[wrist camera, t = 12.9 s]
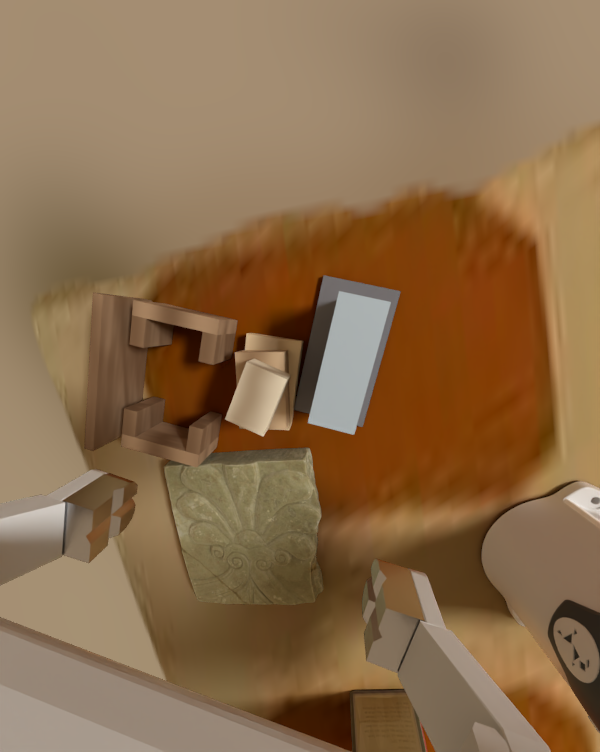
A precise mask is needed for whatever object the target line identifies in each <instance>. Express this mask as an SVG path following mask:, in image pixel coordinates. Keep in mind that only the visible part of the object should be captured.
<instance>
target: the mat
mask: <svg viewBox="0 0 600 752" xmlns="http://www.w3.org/2000/svg"><path fill="white" fill-rule="evenodd" d="M339 291H341V292H346V293H351V294H355V295H360V296H365V297H370V298H374V299H379V300H384V301H388V302H391V304H390V308H389V311H388V315H387V318H386V322H385V326H384V329H383V333H382V336H381V340H380V344H379V347H378V351H377V354H376V358H375V362H374V365H373V369H372V372H371V376H370V380H369V383H368V387H367V390H366V394H365V398H364V401H363V405H362V408H361V412H360V416H359V419H358V423H357V426H361V427H363V423H364V420H365V416H366V413H367V409H368V406H369V402H370V399H371V395H372V391H373V388H374V384H375V381H376V377H377V374H378V370H379V367H380V363H381V359H382V356H383V352H384V349H385V345H386V342H387V338H388V335H389V331H390V327H391V324H392V320H393V317H394V313H395V310H396V306H397V303H398V299H399V295H400V292H401V291H397V290H392V289H387V288H382V287H377V286H372V285H367V284H363V283H358V282H353V281H348V280H343V279H338V278H334V277H329V276H323V281H322V285H321V290H320V294H319V299H318V303H317V308H316V312H315V317H314V321H313V326H312V330H311V335H310V339H309V344H308V348H307V353H306V357H305V362H304V366H303V371H302V375H301V380H300V384H299V389H298V393H297V398H296V402H295V407H294V410H297V411H301V412H305V413H309V414H310V411H311V407H312V403H313V399H314V394H315V390H316V386H317V382H318V378H319V373H320V369H321V365H322V361H323V357H324V352H325V348H326V344H327V340H328V336H329V331H330V327H331V323H332V319H333V315H334V310H335V306H336V302H337V298H338V294H339Z"/></svg>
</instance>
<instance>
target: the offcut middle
mask: <svg viewBox="0 0 600 752" xmlns="http://www.w3.org/2000/svg"><path fill="white" fill-rule="evenodd" d="M252 359H257V360H259V361H261V362H263V363H266V364H268V365H270V366H273V367H275V368H277V369H280V370H282V371H284V372H286V373H289V355H288V350H242V351H238V352H235V365H236V382H237V386H238V383H239V380H240V378H241V375H242V372H243V370H244V367H245V364H246V362H247V361H249V360H252ZM289 423H290V392H289V381H288V384H287V386H286V388H285V391H284V393H283V396H282V398H281V400H280V403H279V405H278V408H277V410H276V412H275V415H274V417H273V420H272V422H271V424H270V427H269V428H268V429H269V430H287V428H288V426H289ZM239 429H245V428H243V427H241V426H239Z"/></svg>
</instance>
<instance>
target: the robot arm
mask: <svg viewBox="0 0 600 752" xmlns="http://www.w3.org/2000/svg"><path fill="white" fill-rule="evenodd" d="M137 486H138V485H137V484H136V483H135V482H133V481H130V480H128V479H125V478H122V477H119V476H116V475H113V474H110V473H106V472H104V471H101V470H98V469H93V470H90V471H88V472H86V473H85V474H83V475H81V476H79V477H78V478H76V479H74V480H72V481H71V482H69V483H67V484H65V485H64V486H62V487H60V488H58V489H57V490H55V491H53V492H52V493H50V494H48V495H46V496H45V495H37V496H32V497H28V498H23V499H19V500H14V501H10V502H6V503H1V504H0V585H2V584H5V583H7V582H9V581H11V580H13V579H15V578H17V577H19V576H22V575H24V574H26V573H28V572H30V571H32V570H35V569H37V568H39V567H41V566H43V565H45V564H47V563H49V562H52V561H54V560H56V559H58V558H60V557H62V555H64V556H67V557H71V558H74V559H77V560H80V561H83V562H87V563H90V562H91V561H92V560H93V559H94V558H95V557H96V556H97V555H98V554H99V553H100V552H101V551H102V550H103V549H104V548H105V547H106V546H107V545H108V540H109V538H112V537H114V536H117V535H119V534H120V533H121V532H122V531H123V530H124V529H125V528H126V527H127V525H128V524H129V522H130V521H131V519H132V517H133V514H134V511H135V503H134V501H133V499H132V497H133V496H134V495H136V494H137ZM592 498H593V499H592ZM591 499H592V500H591ZM482 564H483V568H484V571H485V573H486V575H487V577H488V579H489V580H490V582H491V583H492V584H493V585H494V587H495V588H496V589H497V590H498V591H499V592H500V593H501V594H502V596H503V597H504V598H505V600H506V603H507V606H508V609H509V611H510V613H511V615H512V616H513V617H514V619H515V620H516V622H517V623H518V624H520V625H521V626H525V627H526V628H527V629H528V631H529V632H530V634H531V635H532V636H533V638H534V639H535V640H536V642H537V643H538V645H539V646H540V647H541V649H542V650H543V651H544V653H545V654H546V655H547V657H548V658H549V659H550V661H551V662H552V663H553V665H554V666H555V668H556V669H557V670H558V672H559V673H560V674H561V676H562V677H563V678H564V680H565V681H566V682H567V683H568V685H569V686H570V687H571V689H572V690H573V692H574V694H575V695H576V697H577V698H578V700H579V701H580V703H581V704H582V706H583V707H584V709H585V711H586V712H587V714H588V715H589V716H588V718H589V719H590V721H591V722H592V724H593V725H594V727H595V728H596V730H597V731H598V732H599V733H600V488H598V487H595V486H593V485H591V484H589V483H586V482H582V481H579V482H574V483H572V484H570V485H568V486H566V487H564V488H563V489H561V490H560V491H558V492H557V493H555V494H554V495H551V496H548V497H545V498H541V499H537V500H533V501H529V502H526V503H523V504H521V505H519V506H517V507H515V508H513V509H511V510H509V511H508V512H506V513H505V514H504V515H502V516H501V517H500V518H499V519H498V520H497V521H496V522H495V523H494V524H493V525H492V527H491V528H490V530H489V531H488V533H487V535H486V537H485V539H484V542H483V546H482ZM371 574H372V577H371V578H369V579H368V580H367V581H366V584H365V587H364V591H363V598H362V615H363V618H364V620H365V622H366V623H367V626H366V629H365V632H364V640H365V652H366V661H368V662H370V663H373V664H376V665H378V666H381V667H383V668H386V669H388V670H391V671H394V672H396V673H398V677H399V679H400V681H401V683H402V685H403V687H404V689H405V691H406V693H407V695H408V697H409V699H410V701H411V703H412V705H413V707H414V709H415V711H416V713H417V715H418V717H419V719H420V721H421V723H422V725H423V727H424V729H425V731H426V733H427V735H428V737H429V739H430V741H431V743H432V745H433V747H434V749H435V751H436V752H551V751H550V749H549V747H548V746H547V744H546V743H545V742H544V741H543V740H542V738H541V737H540V736H539V735H538V734H537V732H536V731H535V730H534V729H533V728H532V726H531V725H530V724H529V723H528V722H527V720H526V719H525V718H524V717H523V716H522V714H521V713H520V712H519V711H518V710H517V709H516V707H515V706H514V705H513V704H512V703H511V701H510V700H509V699H508V698H507V697H506V695H505V694H504V693H503V692H502V691H501V689H500V688H499V687H498V686H497V685H496V683H495V682H494V681H493V680H492V679H491V677H490V676H489V675H488V674H487V673H486V671H485V670H484V669H483V668H482V667H481V666H480V664H479V663H478V662H477V661H476V660H475V658H474V657H473V656H472V655H471V654H470V652H469V651H468V650H467V649H466V648H465V646H464V645H463V644H462V643H461V642H460V640H459V639H458V638H457V637H456V636H455V634H454V633H453V632H452V631H450V630H447V629H446V627H445V624H444V622H443V619H442V616H441V613H440V611H439V608H438V605H437V602H436V599H435V597H434V594H433V591H432V588H431V585H430V583H429V580H428V577H427V575H426V574H425V573H423V572H420V571H416V570H413V569H410V568H405V567H402V566H399V565H395V564H392V563H389V562H386V561H382V560H379V559H375V560H374V561H373V564H372V567H371ZM0 752H351V751H348V750H345V749H343V748H340V747H338V746H335V745H332V744H330V743H327V742H324V741H322V740H319V739H317V738H314V737H311V736H309V735H306V734H304V733H301V732H298V731H296V730H293V729H290V728H288V727H285V726H283V725H280V724H277V723H275V722H272V721H270V720H267V719H264V718H262V717H259V716H256V715H254V714H251V713H249V712H246V711H243V710H241V709H238V708H236V707H233V706H230V705H228V704H225V703H222V702H220V701H217V700H215V699H212V698H209V697H207V696H204V695H202V694H199V693H196V692H194V691H191V690H188V689H186V688H183V687H181V686H178V685H175V684H173V683H170V682H168V681H165V680H163V679H160V678H157V677H155V676H152V675H149V674H146V673H144V672H142V671H139V670H137V669H134V668H131V667H129V666H126V665H124V664H121V663H118V662H116V661H113V660H111V659H108V658H105V657H103V656H100V655H98V654H95V653H92V652H90V651H87V650H84V649H82V648H79V647H77V646H74V645H72V644H69V643H66V642H64V641H61V640H59V639H56V638H53V637H51V636H48V635H45V634H43V633H40V632H38V631H35V630H33V629H30V628H27V627H24V626H22V625H20V624H17V623H14V622H12V621H9V620H6V619H4V618H1V617H0Z"/></svg>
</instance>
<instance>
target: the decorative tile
mask: <svg viewBox="0 0 600 752" xmlns="http://www.w3.org/2000/svg"><path fill="white" fill-rule="evenodd" d="M164 472H165V477H166V482H167V487H168V491H169V496H170V500H171V505H172V511H173V516H174V520H175V524H176V528H177V532H178V535H179V540H180V543H181V547H182V553H183V557H184V560H185V564H186V567H187V570H188V574H189V578H190V580H191V583H192V586H193V589H194V593H195V596H196V598H197V600H198V601H201V602H213V603H222V604H265V605H268V604H279V605H297V604H301V603H312V602H315V600H316V598H317V595H318V594H319V593H321V592H322V591H323V582H322V580H323V578H322V572H321V570H320V567H319V564H318V562H317V560H316V558H317V557H316V552H317V545H318V538H317V532H318V524H319V521H320V519H321V507H320V503H319V500H318V491H317V488H316V485H315V477H314V471H313V461H312V455H311V451H310V448H288V449H268V450H250V451H237V452H222V453H211V454H210V455H209V456H208V457H207V458H206V459H205V460H204V461H203V462H202V463H201V464H200V465H199V466H198V467H193V466H190V465H186V464H183V463H179V462H175V461H172V460H171V461H169V462H168V463H167V464H166V465H165V466H164Z"/></svg>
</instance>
